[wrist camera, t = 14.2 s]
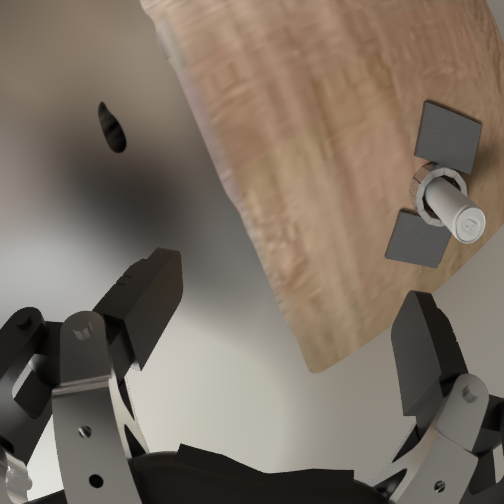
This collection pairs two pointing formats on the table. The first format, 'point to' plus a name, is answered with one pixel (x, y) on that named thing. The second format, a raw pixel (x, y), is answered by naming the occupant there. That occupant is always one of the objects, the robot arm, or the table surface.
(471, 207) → the beverage can
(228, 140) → the table surface
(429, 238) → the hinge model
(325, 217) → the table surface
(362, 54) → the table surface
